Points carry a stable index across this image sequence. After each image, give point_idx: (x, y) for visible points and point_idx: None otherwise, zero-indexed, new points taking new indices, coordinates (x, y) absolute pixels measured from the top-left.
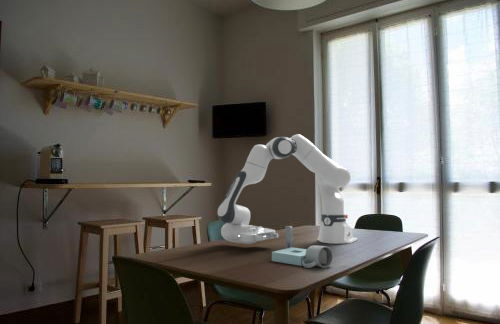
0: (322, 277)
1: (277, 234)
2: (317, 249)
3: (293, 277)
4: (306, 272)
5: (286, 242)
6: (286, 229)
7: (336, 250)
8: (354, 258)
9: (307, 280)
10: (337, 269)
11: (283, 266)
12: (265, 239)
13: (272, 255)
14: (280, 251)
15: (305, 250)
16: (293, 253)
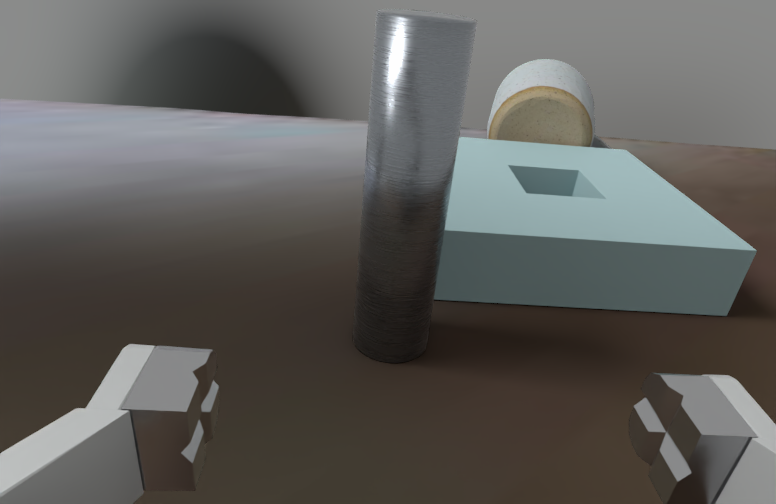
0: (651, 143)
1: (176, 349)
2: (584, 81)
3: (760, 175)
4: (665, 170)
5: (444, 229)
6: (469, 64)
7: (5, 193)
8: (261, 133)
9: (725, 154)
10: None
11: None
12: (641, 418)
13: (740, 272)
14: (667, 226)
15: (472, 165)
16: (617, 176)
